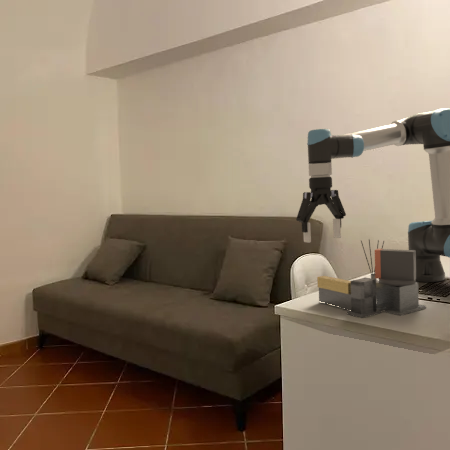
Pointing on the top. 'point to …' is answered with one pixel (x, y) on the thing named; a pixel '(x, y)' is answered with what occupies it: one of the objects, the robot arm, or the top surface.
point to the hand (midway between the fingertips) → (322, 240)
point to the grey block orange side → (395, 267)
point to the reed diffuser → (371, 262)
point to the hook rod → (334, 284)
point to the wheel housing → (398, 299)
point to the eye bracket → (354, 298)
